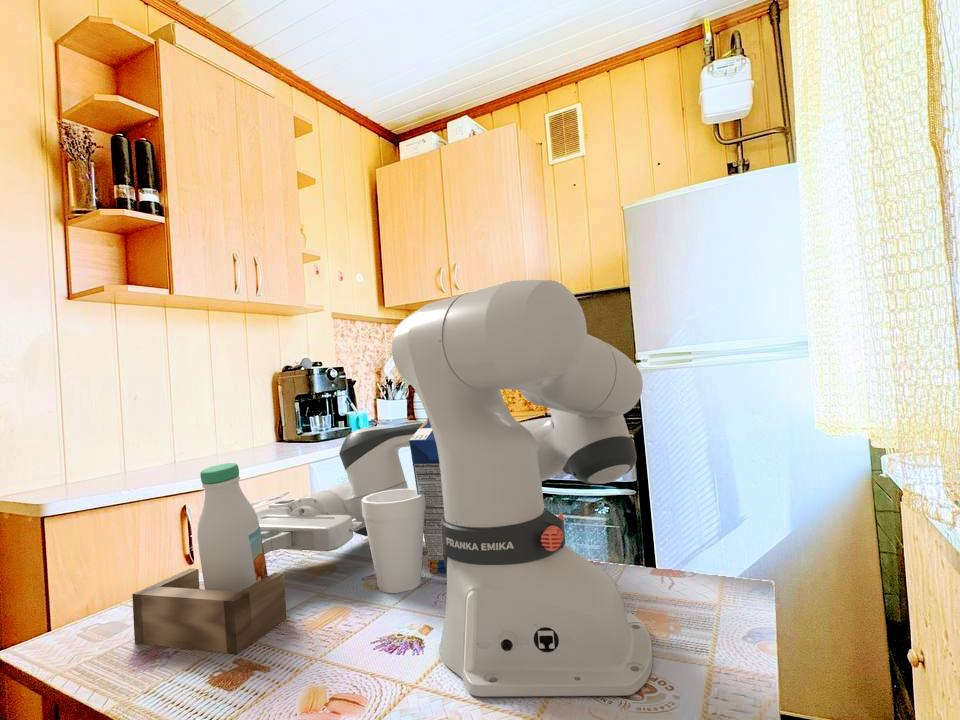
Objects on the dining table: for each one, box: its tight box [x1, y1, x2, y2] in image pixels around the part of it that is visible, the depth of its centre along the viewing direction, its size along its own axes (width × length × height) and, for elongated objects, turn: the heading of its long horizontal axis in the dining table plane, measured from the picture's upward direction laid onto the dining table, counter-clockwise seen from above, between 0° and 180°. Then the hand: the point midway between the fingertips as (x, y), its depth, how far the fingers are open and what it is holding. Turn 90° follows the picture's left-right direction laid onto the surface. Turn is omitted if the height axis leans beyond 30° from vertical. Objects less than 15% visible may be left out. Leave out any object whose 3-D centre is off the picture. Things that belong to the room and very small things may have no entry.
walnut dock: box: [131, 568, 288, 655], centre depth 64 cm, size 16×8×6 cm, turn 72°
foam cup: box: [361, 488, 426, 594], centre depth 74 cm, size 10×9×13 cm
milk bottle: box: [196, 462, 269, 592], centre depth 68 cm, size 8×8×20 cm
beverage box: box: [409, 417, 447, 574], centre depth 79 cm, size 7×11×22 cm, turn 168°
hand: (254, 548), depth 72 cm, fingers closed, pressing on milk bottle
